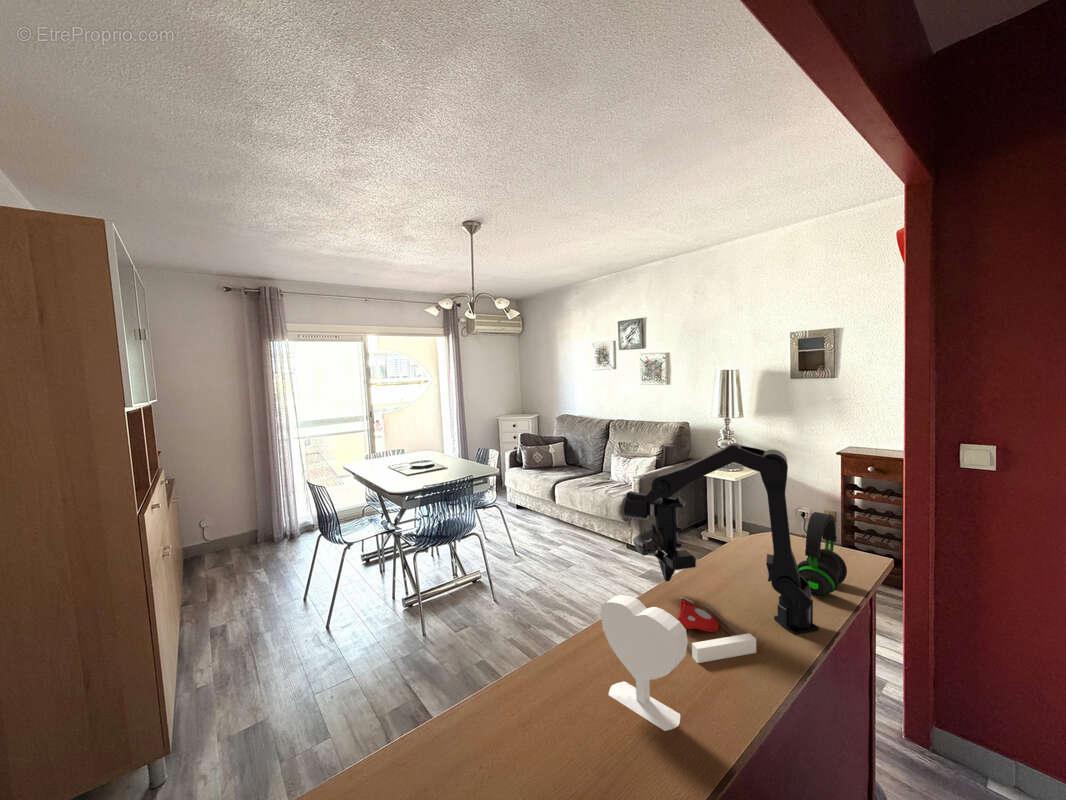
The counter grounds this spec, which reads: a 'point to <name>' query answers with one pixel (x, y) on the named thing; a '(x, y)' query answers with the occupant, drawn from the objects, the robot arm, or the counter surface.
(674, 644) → the heart sculpture
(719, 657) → the guide channel
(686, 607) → the tracker holder
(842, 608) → the counter surface
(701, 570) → the counter surface
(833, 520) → the headphones
